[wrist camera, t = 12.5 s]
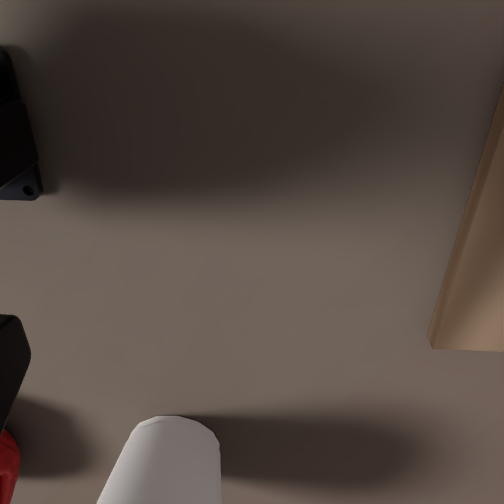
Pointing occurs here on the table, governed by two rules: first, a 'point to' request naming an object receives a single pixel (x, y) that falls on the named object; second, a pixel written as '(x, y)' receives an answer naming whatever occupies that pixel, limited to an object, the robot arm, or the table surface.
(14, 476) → the pomegranate
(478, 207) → the collar plate
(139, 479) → the foam cup
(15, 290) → the table surface
